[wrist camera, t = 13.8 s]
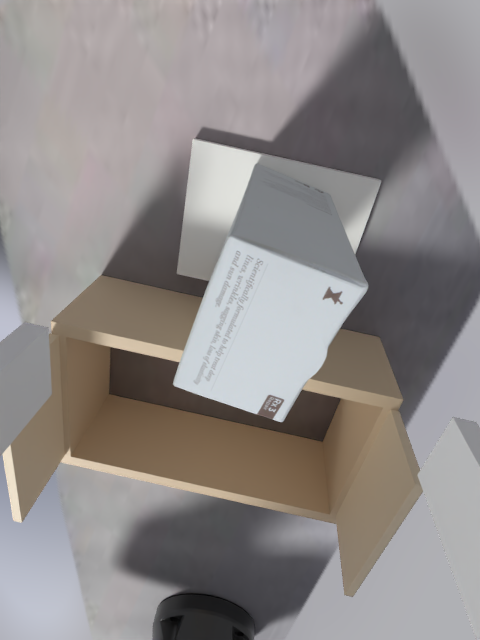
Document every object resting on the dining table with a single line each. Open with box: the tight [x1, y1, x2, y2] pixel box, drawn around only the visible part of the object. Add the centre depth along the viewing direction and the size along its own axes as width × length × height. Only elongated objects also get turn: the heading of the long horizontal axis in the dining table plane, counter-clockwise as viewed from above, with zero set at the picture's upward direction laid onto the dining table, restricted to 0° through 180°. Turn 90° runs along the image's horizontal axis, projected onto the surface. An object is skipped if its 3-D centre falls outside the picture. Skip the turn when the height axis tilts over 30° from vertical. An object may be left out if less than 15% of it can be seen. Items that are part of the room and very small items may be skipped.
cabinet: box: [3, 275, 423, 597], centre depth 30 cm, size 14×24×14 cm, turn 79°
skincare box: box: [173, 163, 368, 422], centre depth 22 cm, size 8×6×15 cm
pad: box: [177, 138, 381, 281], centre depth 29 cm, size 10×13×1 cm
